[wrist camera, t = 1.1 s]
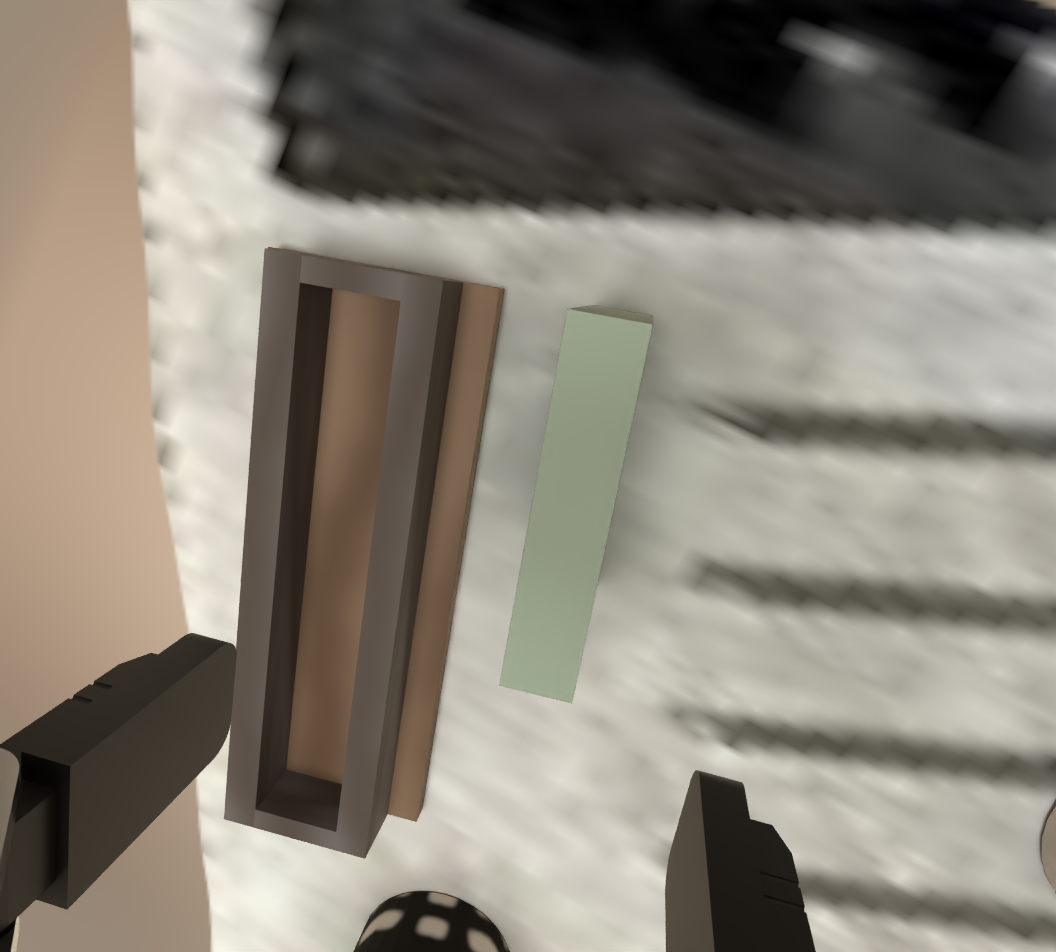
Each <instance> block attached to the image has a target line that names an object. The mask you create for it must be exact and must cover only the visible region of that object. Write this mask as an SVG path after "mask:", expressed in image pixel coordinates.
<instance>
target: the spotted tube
mask: <svg viewBox="0 0 1056 952" xmlns="http://www.w3.org/2000/svg"><path fill="white" fill-rule="evenodd" d="M354 952H509V950H508V947H507V945H506V943H505V940H504V938H503V937H502V935H501V934H500V932H499V931H498V929H497V928H496V927H495V925H494V924H493V923H492V922H491V921H490V920H489V919H488V918H487V917H486V916H485V915H483V914H482V913H481V912H479V911H478V910H477V909H475V908H474V907H473V906H471V905H469V904H467V903H465V902H463V901H461V900H459V899H456V898H453V897H451V896H448V895H445V894H439V893H433V892H411V893H405V894H400V895H398V896H396V897H393V898H391V899H388V900H387V901H385V902H384V903H383V904H381V905H380V906H378V907H377V909H376V910H375V911H374V912H373V913H372V914H371V915H370V917H369V919H368V921H367V923H366V925H365V927H364V930H363V932H362V934H361V936H360V938H359V941H358V943H357V945H356V947H355V949H354Z"/></svg>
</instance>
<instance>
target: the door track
mask: <svg viewBox="0 0 1056 952" xmlns="http://www.w3.org/2000/svg"><path fill="white" fill-rule="evenodd" d="M503 293H504V289H501V288H495V287H490V286H484V285H479V284H473V283H468V282H462V281H457V280H451V279H446V278H440V277H435V276H429V275H423V274H418V273H412V272H407V271H401V270H396V269H390V268H385V267H379V266H374V265H368V264H363V263H357V262H351V261H346V260H340V259H335V258H329V257H324V256H318V255H313V254H307V253H302V252H296V251H291V250H285V249H279V248H272V247H268V249H266V248H265V252H264V266H263V280H262V294H261V308H260V322H259V336H258V350H257V364H256V378H255V392H254V406H253V420H252V434H251V448H250V462H249V476H248V490H247V504H246V518H245V533H244V547H243V561H242V575H241V589H240V603H239V617H238V631H237V645H236V653H237V659H236V670H235V682H234V693H233V704H232V716H231V729H230V743H229V757H228V771H227V785H226V799H225V813H224V819H226V820H229V821H233V822H236V823H240V824H243V825H247V826H251V827H254V828H258V829H261V830H265V831H268V832H272V833H276V834H279V835H283V836H286V837H290V838H293V839H297V840H301V841H304V842H308V843H311V844H315V845H318V846H322V847H326V848H329V849H333V850H336V851H340V852H343V853H347V854H351V855H354V856H358V857H361V858H365V857H366V855H367V853H368V852H369V850H370V848H371V846H372V844H373V842H374V840H375V838H376V836H377V834H378V832H379V830H380V828H381V826H382V824H383V822H384V820H385V818H386V816H387V814H390V815H393V816H397V817H401V818H404V819H408V820H412V821H415V822H416V821H417V819H418V817H419V815H420V812H421V810H422V808H423V801H424V795H425V789H426V782H427V776H428V770H429V763H430V757H431V751H432V744H433V738H434V732H435V725H436V719H437V713H438V706H439V700H440V693H441V687H442V681H443V674H444V668H445V662H446V655H447V649H448V643H449V636H450V630H451V624H452V617H453V611H454V605H455V598H456V592H457V585H458V579H459V573H460V566H461V560H462V554H463V547H464V541H465V535H466V528H467V522H468V516H469V509H470V503H471V497H472V490H473V484H474V478H475V471H476V465H477V458H478V452H479V446H480V439H481V433H482V427H483V420H484V414H485V408H486V401H487V395H488V389H489V382H490V376H491V370H492V363H493V357H494V351H495V344H496V338H497V331H498V325H499V319H500V312H501V306H502V300H503Z"/></svg>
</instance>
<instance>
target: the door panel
mask: <svg viewBox="0 0 1056 952" xmlns="http://www.w3.org/2000/svg"><path fill="white" fill-rule="evenodd" d="M652 326H653V321H652V316H651V315H645V314H640V313H634V312H628V311H623V310H617V309H612V308H606V307H601V306H595V305H593V306H585V307H578V308H571V309H567V314H566V319H565V325H564V330H563V336H562V341H561V347H560V352H559V358H558V363H557V369H556V374H555V380H554V385H553V391H552V397H551V402H550V408H549V413H548V419H547V424H546V430H545V435H544V441H543V446H542V452H541V457H540V463H539V468H538V474H537V479H536V485H535V490H534V496H533V501H532V507H531V512H530V518H529V523H528V529H527V535H526V540H525V546H524V551H523V557H522V562H521V568H520V573H519V579H518V584H517V590H516V595H515V601H514V606H513V612H512V617H511V623H510V628H509V634H508V639H507V645H506V650H505V656H504V661H503V667H502V672H501V678H500V684H499V686H503V687H507V688H511V689H515V690H520V691H524V692H528V693H532V694H536V695H540V696H544V697H548V698H552V699H556V700H560V701H564V702H568V703H572V702H573V697H574V692H575V687H576V683H577V678H578V673H579V669H580V664H581V659H582V655H583V650H584V645H585V640H586V636H587V631H588V626H589V622H590V617H591V612H592V608H593V603H594V598H595V594H596V589H597V584H598V579H599V575H600V570H601V565H602V561H603V556H604V551H605V547H606V542H607V537H608V533H609V528H610V523H611V518H612V514H613V509H614V504H615V500H616V495H617V490H618V486H619V481H620V476H621V472H622V467H623V462H624V457H625V453H626V448H627V443H628V439H629V434H630V429H631V425H632V420H633V415H634V410H635V406H636V401H637V396H638V392H639V387H640V382H641V378H642V373H643V368H644V364H645V359H646V354H647V349H648V345H649V340H650V335H651V331H652Z"/></svg>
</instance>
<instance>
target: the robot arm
mask: <svg viewBox="0 0 1056 952" xmlns="http://www.w3.org/2000/svg"><path fill="white" fill-rule="evenodd" d="M236 659H237V653H236V648H235V646H234V645H233V644H231V643H228V642H224V641H220V640H217V639H213V638H209V637H206V636H202V635H198V634H194V633H190V634H187V635H185V636H184V637H182V638H181V639H179V640H178V641H177V642H175V643H174V644H172V645H171V646H170V647H168V648H167V649H165V650H164V651H163V652H161V653H160V654H158V655H157V654H153V653H150V654H147V655H144V656H141V657H138V658H136V659H133V660H130V661H127V662H125V663H122V664H119V665H117V666H116V667H115V668H113V669H112V670H110V671H108V672H107V673H106V674H104V675H103V676H101V677H100V678H98V679H97V680H95V681H94V684H93V685H88V686H86V687H85V688H83V689H82V690H80V691H79V692H77V693H76V694H74V696H73V698H72V699H67V700H65V701H64V702H62V703H61V704H59V705H58V706H57V707H55V708H54V709H52V710H51V711H49V712H48V713H46V714H45V715H43V716H42V717H40V718H39V719H37V720H36V721H34V722H33V723H31V724H30V725H28V726H27V727H25V728H24V729H22V730H21V731H19V732H18V733H16V734H15V735H13V736H12V737H11V738H9V739H8V740H6V741H5V742H3V743H2V744H0V952H16V947H17V941H18V935H19V915H20V914H21V913H22V912H23V911H24V910H25V909H26V908H27V907H29V906H30V905H31V904H32V903H33V902H34V901H35V900H40V901H43V902H46V903H49V904H52V905H55V906H58V907H61V908H64V909H68V908H69V907H70V906H71V905H72V904H73V903H74V902H75V901H76V900H77V899H78V898H79V897H80V896H81V895H82V894H83V893H84V892H85V891H86V890H87V889H88V888H89V887H90V886H91V885H92V884H93V883H94V881H96V879H97V878H98V877H99V876H100V875H101V874H102V873H103V872H104V871H105V870H106V869H107V868H108V867H109V866H110V865H111V864H112V863H113V862H114V861H115V860H116V859H117V858H118V857H119V856H120V855H121V854H122V853H123V852H124V850H126V849H127V848H128V846H130V844H131V843H132V842H133V841H134V840H135V839H136V838H137V837H138V836H139V835H140V834H141V833H142V832H143V831H144V830H145V829H146V828H147V827H148V826H149V825H150V824H151V823H152V822H153V821H154V820H155V819H156V818H157V817H158V816H159V815H160V814H161V812H163V811H164V809H165V808H166V807H167V806H168V805H169V804H170V803H171V802H172V801H173V800H174V799H175V798H176V797H177V796H178V795H179V794H180V793H181V792H182V791H183V790H184V789H185V788H186V787H187V786H188V785H189V784H190V783H191V782H192V781H193V780H194V779H195V778H196V777H197V775H198V774H199V773H200V772H201V771H202V770H203V769H204V768H205V767H206V766H207V765H208V764H209V763H210V762H211V761H212V760H213V759H214V758H215V757H216V755H217V754H218V753H219V751H220V749H221V748H222V746H223V744H224V742H225V740H226V737H227V734H228V731H229V728H230V724H231V716H232V704H233V693H234V682H235V670H236ZM1042 862H1043V865H1044V869H1045V873H1046V877H1047V878H1048V880H1049V882H1050V883H1051V885H1052V887H1053V889H1054V890H1055V892H1056V806H1055V808H1054V810H1053V811H1052V813H1051V815H1050V817H1049V818H1048V820H1047V823H1046V826H1045V830H1044V833H1043V837H1042ZM798 884H799V881H798V877H797V873H796V869H795V865H794V861H793V856H792V853H791V852H790V850H789V849H788V847H787V846H786V844H785V843H784V842H783V840H782V839H781V837H780V836H779V834H778V833H777V831H776V830H775V829H774V827H773V826H772V825H770V824H766V823H762V822H759V821H755V820H751V819H750V816H749V811H748V805H747V800H746V794H745V789H744V785H743V783H742V782H738V781H735V780H731V779H727V778H724V777H720V776H716V775H712V774H709V773H705V772H701V771H698V770H696V771H695V772H694V774H693V776H692V778H691V781H690V785H689V788H688V792H687V795H686V799H685V802H684V806H683V809H682V813H681V816H680V819H679V823H678V826H677V830H676V833H675V837H674V840H673V844H672V847H671V851H670V856H669V861H668V867H667V875H666V886H665V910H666V952H816V951H815V947H814V943H813V939H812V935H811V930H810V926H809V922H808V918H807V914H806V913H805V912H804V907H805V906H804V902H803V898H802V893H801V889H800V888H798Z"/></svg>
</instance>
